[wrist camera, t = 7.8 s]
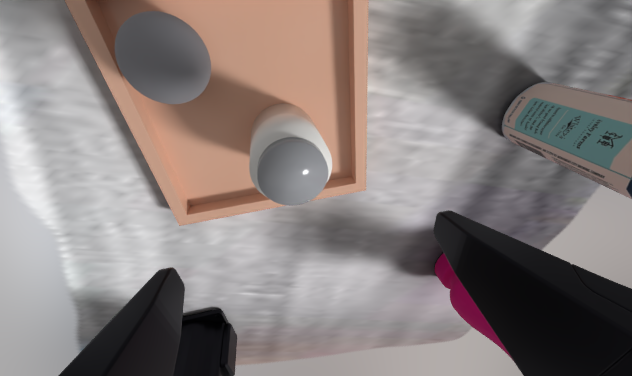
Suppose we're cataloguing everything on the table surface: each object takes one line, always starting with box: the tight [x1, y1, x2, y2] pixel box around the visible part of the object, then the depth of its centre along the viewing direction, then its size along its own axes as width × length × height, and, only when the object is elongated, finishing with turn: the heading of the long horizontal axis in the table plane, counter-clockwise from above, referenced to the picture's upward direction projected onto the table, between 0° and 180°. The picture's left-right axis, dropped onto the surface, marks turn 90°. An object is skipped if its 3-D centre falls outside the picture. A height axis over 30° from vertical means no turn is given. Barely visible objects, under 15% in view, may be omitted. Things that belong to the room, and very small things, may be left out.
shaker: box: [249, 103, 332, 205], centre depth 16 cm, size 4×4×6 cm
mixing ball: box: [115, 11, 211, 104], centre depth 13 cm, size 4×4×4 cm
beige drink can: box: [502, 82, 632, 199], centre depth 16 cm, size 5×5×12 cm
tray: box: [65, 0, 368, 226], centre depth 16 cm, size 14×14×2 cm
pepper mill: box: [435, 253, 514, 361], centre depth 22 cm, size 7×7×20 cm
